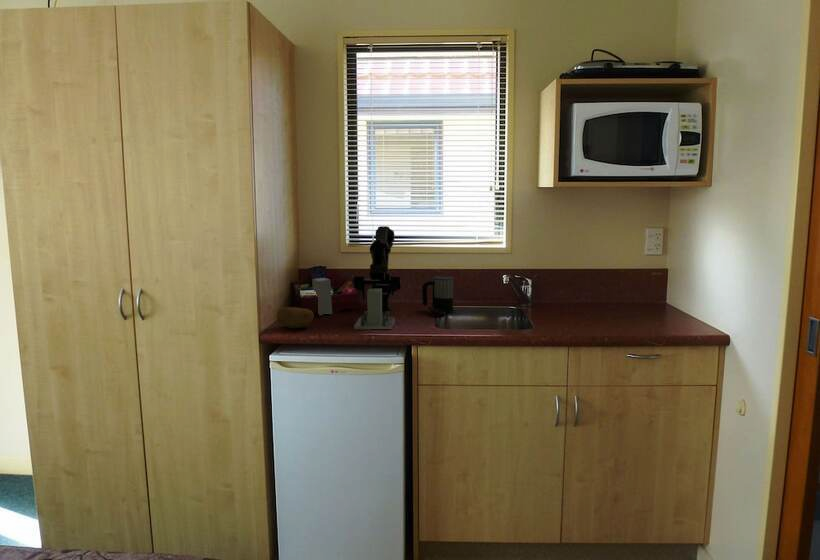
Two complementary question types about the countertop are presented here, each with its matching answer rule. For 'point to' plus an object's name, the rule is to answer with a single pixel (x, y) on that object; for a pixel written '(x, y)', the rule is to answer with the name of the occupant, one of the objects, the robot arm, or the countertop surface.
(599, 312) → the countertop surface
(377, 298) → the plate
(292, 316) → the potato
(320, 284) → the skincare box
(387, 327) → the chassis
